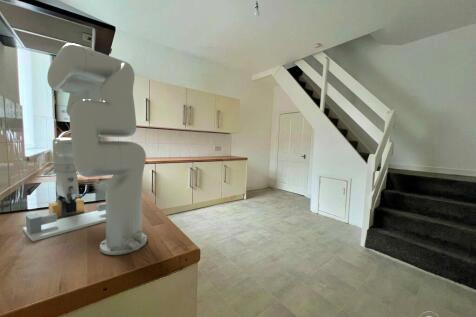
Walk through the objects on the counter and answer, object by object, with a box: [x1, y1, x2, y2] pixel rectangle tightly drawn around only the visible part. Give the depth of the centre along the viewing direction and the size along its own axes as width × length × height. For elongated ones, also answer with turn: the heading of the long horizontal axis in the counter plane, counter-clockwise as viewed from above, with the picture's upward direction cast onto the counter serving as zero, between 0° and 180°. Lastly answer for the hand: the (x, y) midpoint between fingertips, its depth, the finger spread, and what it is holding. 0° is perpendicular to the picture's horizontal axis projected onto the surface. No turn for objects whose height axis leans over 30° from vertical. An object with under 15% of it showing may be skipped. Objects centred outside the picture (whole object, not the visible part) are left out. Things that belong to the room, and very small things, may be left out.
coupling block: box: [48, 197, 85, 219], centre depth 83 cm, size 5×10×6 cm, turn 146°
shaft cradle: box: [22, 202, 106, 242], centre depth 75 cm, size 12×27×6 cm, turn 146°
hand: (66, 209), depth 83 cm, fingers open, 9 cm apart
